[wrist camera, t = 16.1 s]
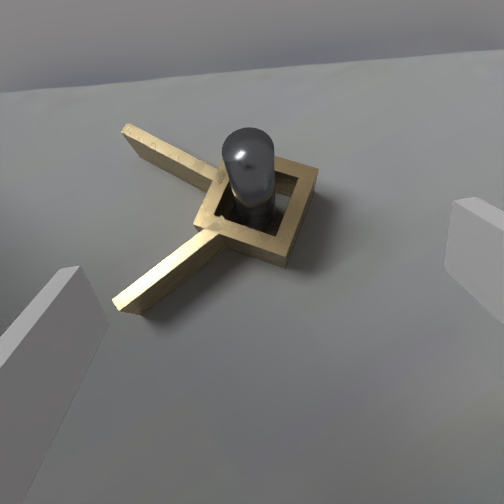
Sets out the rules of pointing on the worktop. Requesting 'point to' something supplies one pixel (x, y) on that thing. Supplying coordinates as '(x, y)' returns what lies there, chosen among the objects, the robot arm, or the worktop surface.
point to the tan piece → (214, 219)
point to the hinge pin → (251, 176)
